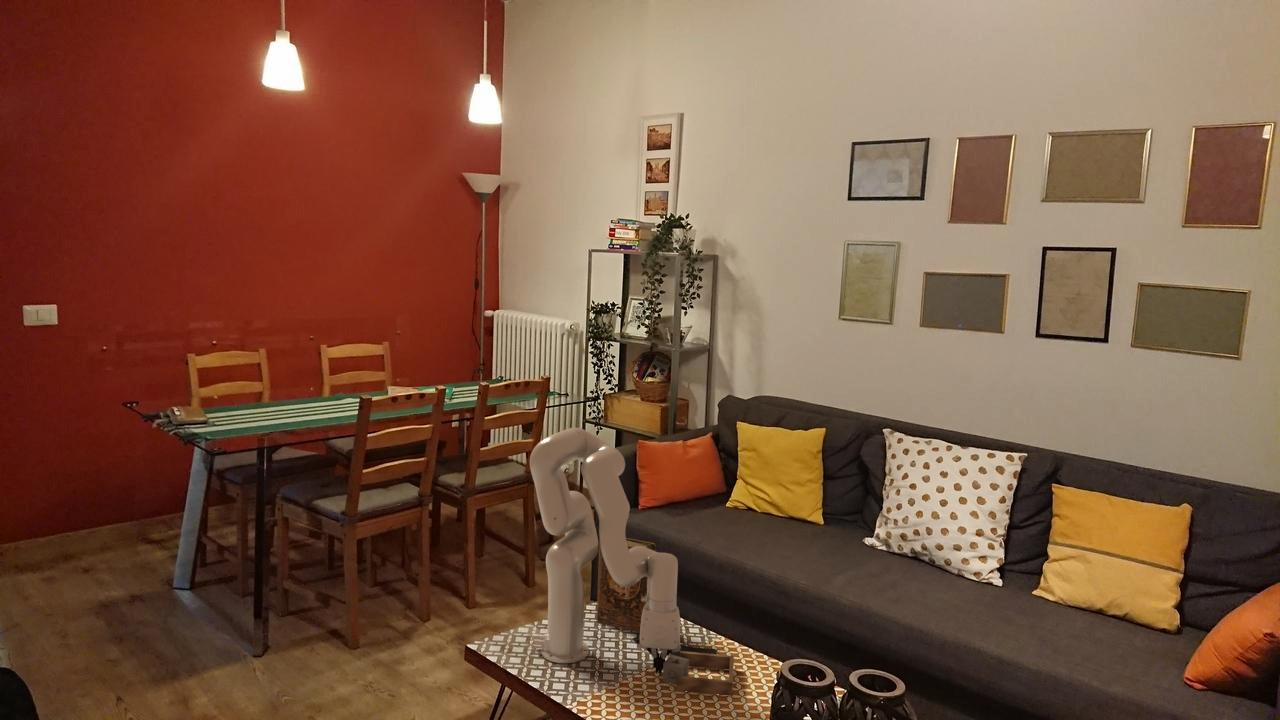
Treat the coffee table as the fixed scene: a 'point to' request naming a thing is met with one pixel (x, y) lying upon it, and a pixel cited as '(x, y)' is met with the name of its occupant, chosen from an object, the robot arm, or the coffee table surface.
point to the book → (621, 596)
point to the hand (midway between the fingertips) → (658, 670)
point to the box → (703, 683)
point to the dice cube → (675, 669)
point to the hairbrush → (687, 648)
